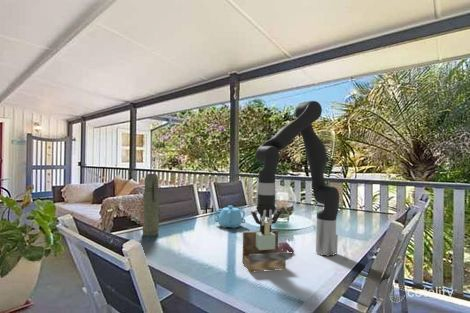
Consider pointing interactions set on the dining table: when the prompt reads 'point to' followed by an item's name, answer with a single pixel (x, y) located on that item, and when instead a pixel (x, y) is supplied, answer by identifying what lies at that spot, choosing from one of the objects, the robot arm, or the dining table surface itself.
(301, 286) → the dining table surface
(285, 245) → the video game controller
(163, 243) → the dining table surface
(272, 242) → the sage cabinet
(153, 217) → the thermos
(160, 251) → the dining table surface
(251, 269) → the wall board ledge
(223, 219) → the decorative pot
